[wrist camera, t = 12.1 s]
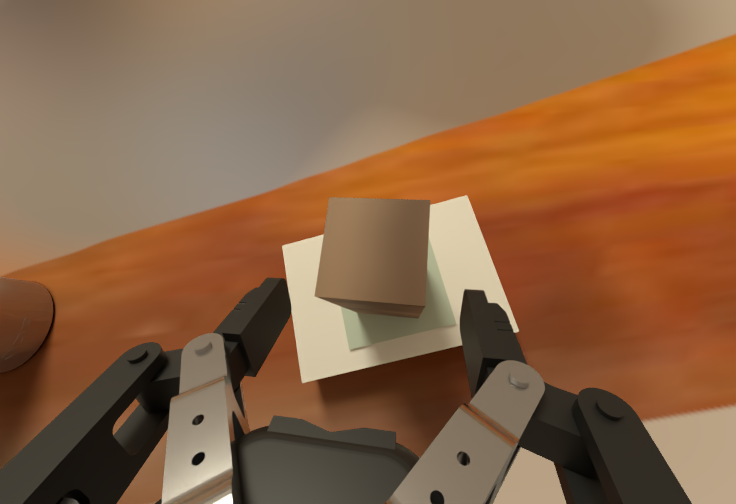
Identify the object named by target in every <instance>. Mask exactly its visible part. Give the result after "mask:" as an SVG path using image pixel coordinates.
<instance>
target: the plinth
mask: <svg viewBox="0 0 736 504" xmlns="http://www.w3.org/2000/svg"><path fill="white" fill-rule="evenodd" d="M323 236H324V235H320V236H316V237H313V238H309V239H306V240H302V241H298V242H295V243H291V244H287V245H284V246H282V248H283V255H284V262H285V269H286V276H287V283H288V289H289V296H290V301H291V310H292V317H293V324H294V331H295V338H296V345H297V351H298V358H299V365H300V372H301V379H302V383H305V382H309V381H313V380H317V379H322V378H326V377H330V376H334V375H338V374H343V373H347V372H351V371H355V370H359V369H364V368H368V367H372V366H376V365H381V364H385V363H389V362H393V361H397V360H402V359H406V358H410V357H414V356H419V355H423V354H427V353H431V352H435V351H440V350H444V349H448V348H452V347H457V346H461V345H462V340H461V334H460V313H461V306H462V300H463V293H464V290H465V289H472V290H484V292H485V294H486V297H487V300H488V303H498V304H499V305H500V306H501V307H502V308H503V310H504V311H505V312H506V313H507V316H508V318H509V321H510V324H511V326H512V328H513V332H514V333H516V332H519V330H518V327H517V324H516V322H515V319H514V317H513V314H512V311H511V309H510V306H509V304H508V301H507V298H506V296H505V293H504V290H503V288H502V285H501V283H500V280H499V277H498V275H497V272H496V270H495V267H494V264H493V262H492V259H491V257H490V254H489V251H488V249H487V246H486V243H485V241H484V238H483V236H482V233H481V230H480V228H479V225H478V223H477V220H476V217H475V215H474V212H473V209H472V207H471V204H470V202H469V199H468V196H467V195H466V196H462V197H459V198H455V199H451V200H448V201H444V202H440V203H437V204H433V205H430V218H429V239H428V260H427V281H426V302H425V308H424V309H423V311H422V313H421V315H420V316H419V318H418V319H417V318H407V317H396V316H386V315H376V314H365V313H356V312H354V311H351V310H349V309H346V308H343V307H341V306H338V305H336V304H333V303H330V302H328V301H325V300H323V299H320V298H317V297H315V289H316V283H317V276H318V269H319V263H320V256H321V250H322V243H323Z"/></svg>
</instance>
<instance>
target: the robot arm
mask: <svg viewBox="0 0 736 504" xmlns="http://www.w3.org/2000/svg"><path fill="white" fill-rule="evenodd" d="M290 314H291V301H290V296H289V292H288V287H287V283H286V280H285V279H284V278H266V279H265V281H264V282H263V283H262V284H261V286H260V287H259V288H255V289H253V290H252V291H250V292H249V293H247V294H246V295H245V296H244V297H243V298H242V299H241V301H240V302H239V304H237V305H236V306H235V308H234V310H232V311H231V312H230V313H229V315H228V316H227V317H226V318H225V319H224V320H223V322H222V323H221V324H220V325H219V326H218V327H217V329H216V330H215V331H214V332H213V333H208V334H204V335H201V336H199V337H197V338H195V339H193V340H192V341H190V342H189V343H188V344H187V345H186V346H185V348H184V349H178V350H172V351H166V352H163V350H162V348H161V346H160V345H159V344H158V343H154V342H149V343H144V344H141V345H138V346H136V347H134V348H132V349H130V350H128V351H127V352H125V353H124V354H123V355H122V356H121V357H119V358H118V359H117V360H116V361H115V362H114V363H113V364H112V365H111V366H110V367H109V368H108V369H107V370H106V371H105V372H104V373H103V374H101V375H100V376H99V377H98V378H97V379H96V380H95V381H94V382H93V383H92V384H91V385H90V386H89V387H88V388H87V389H86V390H85V391H84V392H82V393H81V394H80V395H79V396H78V397H77V398H76V399H75V400H74V401H73V402H72V403H71V404H70V405H69V406H68V407H67V408H66V409H64V410H63V411H62V412H61V413H60V414H59V415H58V416H57V417H56V418H55V419H54V420H53V421H52V422H51V423H50V424H49V425H48V426H46V427H45V428H44V429H43V430H42V431H41V432H40V433H39V434H38V435H37V436H36V437H35V438H34V439H33V440H32V441H31V442H30V443H29V444H27V445H26V446H25V447H24V448H23V449H22V450H21V451H20V452H19V453H18V454H17V455H16V456H15V457H14V458H13V459H12V460H11V461H9V462H8V463H7V464H6V465H5V466H4V467H3V468H2V469H1V470H0V504H116V503H117V502H118V500H119V499H120V498H121V496H122V495H123V493H124V492H125V490H126V489H127V487H128V486H129V484H130V483H131V482H132V480H133V479H134V477H135V476H136V474H137V473H138V471H139V470H140V468H141V467H142V466H143V464H144V463H145V461H146V460H147V458H148V457H149V455H150V454H151V452H152V451H153V450H154V448H155V447H156V445H157V444H158V442H159V441H160V439H161V438H162V436H163V435H164V434H165V432H166V431H167V429H168V435H167V447H166V458H165V470H164V481H163V493H162V499H160V500H159V501H158V502H156V503H155V504H493V501H494V499H495V497H496V495H497V493H498V491H499V489H500V487H501V485H502V483H503V481H504V479H505V477H506V475H507V473H508V471H509V469H510V467H511V466H512V464H513V462H514V460H515V458H516V456H517V454H518V452H519V450H520V448H521V447H522V448H524V449H526V450H529V451H531V452H533V453H535V454H537V455H540V456H542V457H544V458H546V459H548V460H551V461H553V462H554V465H555V467H556V471H557V474H558V477H559V480H560V484H561V487H562V490H563V493H564V496H565V500H566V503H567V504H692V503H691V501H690V500H689V498H688V496H687V495H686V493H685V492H684V490H683V488H682V487H681V485H680V484H679V482H678V480H677V479H676V477H675V475H674V474H673V472H672V471H671V469H670V467H669V466H668V464H667V462H666V461H665V459H664V458H663V456H662V454H661V453H660V451H659V449H658V448H657V446H656V445H655V443H654V441H653V440H652V438H651V436H650V435H649V433H648V432H647V430H646V429H645V427H644V425H643V423H642V422H641V420H640V419H639V417H638V415H637V414H636V412H635V411H634V410H633V409H632V408H631V407H630V406H629V405H628V404H627V403H626V402H625V401H623V400H622V399H621V398H619V397H618V396H616V395H614V394H612V393H610V392H608V391H605V390H602V389H598V388H586V389H583V390H581V391H580V392H579V394H578V395H575V394H573V393H570V392H567V391H564V390H561V389H559V388H556V387H553V386H551V385H549V384H547V383H545V382H544V381H543V379H542V378H541V376H540V375H539V374H538V373H537V372H536V371H535V370H534V369H533V368H531V367H530V366H528V365H527V363H526V360H525V358H524V355H523V353H522V350H521V348H520V345H519V343H518V340H517V338H516V335H515V333H514V332H513V328H512V326H511V324H510V321H509V318H508V316H507V313H506V312H505V311H504V310H503V308H502V307H501V306H500V305H499V304H498V303H488V300H487V297H486V294H485V292H484V290H472V289H465V290H464V293H463V300H462V306H461V313H460V334H461V340H462V346H463V352H464V357H465V363H466V369H467V374H468V380H469V386H470V391H471V397H472V400H471V401H470V403H469V404H468V405H466V404H462V405H461V406H460V407H459V408H458V409H457V411H456V412H455V413H454V415H453V416H452V417H451V419H450V420H449V421H448V422H447V424H446V425H445V426H444V428H443V429H442V430H441V432H440V433H439V434H438V436H437V437H436V438H435V439H434V441H433V442H432V443H431V445H430V446H429V447H428V449H427V450H426V451H425V453H424V454H423V455H422V457H421V458H419V457H418V456H417V455H415V454H414V453H413V452H412V451H410V450H409V449H407V448H406V447H404V446H402V445H400V444H398V443H396V432H391V431H384V430H377V429H369V428H359V429H352V430H345V431H337V432H329V431H326V430H324V429H322V428H320V427H318V426H316V425H313V424H311V423H309V422H307V421H305V420H303V419H296V418H289V417H281V416H273V418H272V421H271V423H270V425H269V426H266V427H262V428H258V429H256V430H253V431H251V432H250V429H249V424H248V419H247V413H246V406H245V400H244V394H243V388H242V384H241V380H242V379H243V377H244V376H252V377H256V375H257V373H258V371H259V370H260V368H261V366H262V364H263V363H264V361H265V359H266V358H267V356H268V354H269V352H270V351H271V349H272V347H273V345H274V344H275V342H276V340H277V338H278V337H279V335H280V333H281V331H282V330H283V328H284V326H285V324H286V323H287V321H288V319H289V317H290ZM52 317H53V302H52V298H51V295H50V293H49V292H48V290H47V289H46V288H45V287H44V286H43V285H41V284H39V283H37V282H31V281H24V280H17V279H10V278H3V277H0V373H2V372H7V371H10V370H13V369H15V368H17V367H18V366H20V365H22V364H23V363H24V362H26V361H27V360H28V359H29V358H31V356H32V355H33V354H34V353H35V352H36V351H37V350H38V348H39V347H40V346H41V344H42V343H43V341H44V339H45V337H46V335H47V333H48V331H49V328H50V325H51V322H52ZM135 398H136V399H137V400H138V402H139V403H140V404H139V406H138V407H137V408H136V409H135V410H134V412H133V413H132V414H131V415H130V416H129V418H128V419H127V420H126V421H125V422H124V424H123V425H122V426H121V427H120V428H119V430H118V431H117V432H116V433H115V434H114V436H113V433H112V431H113V427H114V424H115V422H116V421H117V419H118V418H119V417H120V416H121V414H122V413H123V412H124V411H125V410H126V409H127V408H128V406H129V405H130V404H131V403H132V402H133V401H134V399H135Z"/></svg>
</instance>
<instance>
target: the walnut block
mask: <svg viewBox="0 0 736 504" xmlns="http://www.w3.org/2000/svg"><path fill="white" fill-rule="evenodd" d="M429 218H430V200H404V199H369V198H334V197H329V203H328V210H327V216H326V223H325V230H324V236H323V243H322V250H321V256H320V263H319V269H318V276H317V283H316V289H315V297H317V298H320V299H323V300H325V301H328V302H330V303H333V304H336V305H338V306H341V307H343V308H346V309H349V310H351V311H354V312H356V313H365V314H376V315H386V316H396V317H407V318H417V319H418V318H419V316H420V315H421V313H422V311H423V309H424V308H425V302H426V281H427V260H428V239H429Z"/></svg>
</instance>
